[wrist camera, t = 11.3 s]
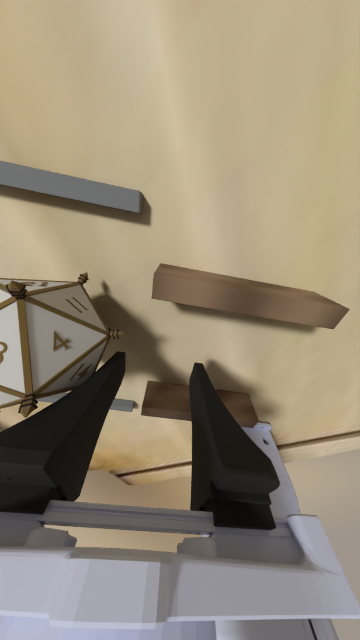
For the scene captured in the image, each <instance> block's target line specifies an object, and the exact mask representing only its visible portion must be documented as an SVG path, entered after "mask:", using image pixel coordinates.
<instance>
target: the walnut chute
mask: <svg viewBox="0 0 360 640" xmlns="http://www.w3.org/2000/svg"><path fill="white" fill-rule="evenodd" d="M152 299H158V300H163V301H169V302H175V303H181V304H187V305H193V306H199V307H205V308H211V309H216V310H222V311H228V312H234V313H240V314H246V315H252V316H258V317H264V318H270V319H275V320H281V321H287V322H293V323H299V324H305V325H311V326H317V327H323V328H329V329H334V328H335V327H336V326H337V324H338V323H339V322H340V321H341V319H342V318H343V317H344V316H345V314H346V313H347V312H348V311H349V310H350V309H348V308H346V307H344V306H342V305H340V304H338V303H336V302H334V301H332V300H330V299H328V298H325V297H323V296H321V295H319V294H317V293H315V292H311V291H306V290H300V289H295V288H290V287H284V286H279V285H274V284H268V283H263V282H258V281H252V280H247V279H241V278H236V277H231V276H225V275H220V274H215V273H209V272H204V271H199V270H193V269H188V268H182V267H177V266H172V265H166V264H160V265H159V267H158V268H157V270H156V271H155V273H154V279H153V290H152ZM216 392H217V394H218V395H219V397H220V399H221V400H222V402H223V403H224V405H225V406H226V408H227V409H228V411H229V412H230V414H231V415H232V416H233V418H234V419H235V420H236V422H237V423H238V424H239V425H240V426H241V427H247V428H254V426H255V425H256V424H257V423H258V421H259V420H258V417H257V415H256V412H255V410H254V407H253V405H252V402H251V399H250V397H249V394H243V393H236V392H228V391H221V390H216ZM141 415H144V416H152V417H161V418H169V419H178V420H187V421H192V418H191V407H190V395H189V386H183V385H175V384H168V383H160V382H152V381H148V383H147V388H146V392H145V396H144V400H143V405H142V412H141Z"/></svg>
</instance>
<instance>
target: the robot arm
mask: <svg viewBox="0 0 360 640" xmlns="http://www.w3.org/2000/svg"><path fill="white" fill-rule="evenodd" d="M124 374H125V352H118V351H117V352H116V353H115V354H114V355H113V356H112V357H111V358H110V359H109V360H108V361H107V362H106V363H105V364H104V365H103V366H102V367H100V368H99V369H98V370H97V371H96V372H95V373H94V374H93V375H91V376H90V377H89V378H88V379H87V380H85V381H84V382H83V383H82V384H80V385H79V386H78V387H76V388H75V389H73V390H72V391H71V392H69V393H68V394H66V395H65V396H63V397H62V398H60V399H59V400H57V401H56V402H54V403H53V404H51V405H49V406H48V407H46V408H44V409H43V410H41V411H39V412H37V413H36V414H34V415H32V416H30V417H29V418H27V419H25V420H23V421H21V422H19V423H17V424H15V425H13V426H12V427H10V428H8V429H6V430H4V431H2V432H0V640H339V639H338V636H337V634H336V631H335V629H334V626H333V623H332V620H331V618H343V619H344V618H345V619H346V618H347V619H360V605H359V603H358V601H357V599H356V596H355V594H354V592H353V590H352V588H351V586H350V584H349V581H348V579H347V577H346V575H345V573H344V571H343V569H342V566H341V564H340V562H339V560H338V558H337V556H336V554H335V551H334V549H333V547H332V545H331V543H330V541H329V539H328V537H327V534H326V532H325V530H324V528H323V526H322V524H321V522H320V520H319V518H318V516H316V515H305V514H300V511H299V504H298V500H297V496H296V493H295V490H294V487H293V485H292V482H291V480H290V478H289V475H288V473H287V471H286V468H285V466H284V463H283V461H282V459H281V456H280V454H279V452H278V449H277V447H276V445H275V442H274V440H273V438H272V435H271V433H270V430H271V429H272V426H271V424H268V423H260V422H258V423H257V424H256V425H255V426H254V428H247V427H241V426H240V425H239V424H238V423H237V422H236V420H235V419H234V418H233V416H232V415H231V414H230V412H229V411H228V409H227V408H226V406H225V405H224V403H223V402H222V400H221V399H220V397H219V395H218V394H217V392H216V390H215V388H214V386H213V384H212V383H211V381H210V379H209V377H208V374H207V372H206V370H205V368H204V366H203V364H202V363H195V364H194V367H193V370H192V373H191V376H190V382H189V395H190V407H191V418H192V481H191V507H190V509H191V511H190V510H176V509H163V508H150V507H137V506H123V505H110V504H97V503H83V502H74V501H75V500H76V499H77V498H78V497H79V496H80V493H81V489H82V486H83V483H84V480H85V477H86V474H87V471H88V467H89V464H90V461H91V458H92V455H93V452H94V449H95V446H96V444H97V441H98V438H99V435H100V432H101V429H102V427H103V424H104V421H105V418H106V416H107V413H108V411H109V409H110V407H111V405H112V403H113V400H114V398H115V396H116V394H117V392H118V390H119V387H120V385H121V383H122V380H123V377H124ZM44 525H57V526H73V527H89V528H104V529H120V530H136V531H150V532H166V533H181V534H197V535H202V537H193V538H184V540H183V542H182V543H179V544H178V545H177V553H173V552H162V551H151V550H137V549H122V548H99V547H75V544H76V542H77V538H75V537H73V536H70V535H69V534H68V531H64V530H58V529H52V528H45V527H44Z"/></svg>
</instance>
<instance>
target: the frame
mask: <svg viewBox="0 0 360 640" xmlns="http://www.w3.org/2000/svg"><path fill="white" fill-rule="evenodd" d="M0 185H5V186H10V187H15V188H19V189H24V190H29V191H34V192H39V193H44V194H48V195H53V196H58V197H63V198H68V199H73V200H77V201H82V202H87V203H92V204H97V205H101V206H106V207H111V208H116V209H121V210H126V211H130V212H135V213H140V214H142V200H143V194H142V193H141V192H140V191H137V190H132V189H128V188H123V187H118V186H114V185H109V184H105V183H100V182H95V181H91V180H86V179H82V178H77V177H72V176H68V175H63V174H59V173H54V172H49V171H45V170H40V169H36V168H31V167H26V166H22V165H17V164H13V163H8V162H3V161H0ZM66 394H68V393H60V394H56V395H52V396H48V397H44V398H40V399H36V400H37V401H42V402H51V403H54V402H56V401H57V400H59V399H60V398H62V397H63V396H65V395H66ZM133 406H134V401H128V400H120V399H114V400H113V403H112V405H111V407H110V409H111V410H119V411H128V412H132V410H133Z"/></svg>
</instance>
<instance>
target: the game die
mask: <svg viewBox="0 0 360 640" xmlns="http://www.w3.org/2000/svg"><path fill="white" fill-rule="evenodd" d="M78 279H79V280H78V282H67V281H47V280H27V279H8V278H0V409H1V408H5V407H9V406H13V405H17V404H21V406H20V408H19V412H18V413H21V414H22V415H23V416H24V417H25V418H26V417H27V416H28V415H29V414H30V413H31V412H32V411H33V410H35V409H36V408H38V406H36V404H37V403H38V401H37V400H36V399H40V398H44V397H48V396H52V395H56V394H60V393H64V392H67V391H71V390H73V389H75V388H76V387H78V386H79V385H80V384H82V383H83V382H84V381H85V380H87V379H88V378H89V377H90V376H91V375H93V374H94V373H95V371H96V369H97V367H98V364H99V362H100V360H101V358H102V355H103V353H104V351H105V348H106V346H107V344H108V342H109V339H110V338H113V339H115V338H117V339H119V338H120V337H121V336H123V335H124V333H122V332H120V331H119V330H117V331H115V330H113V331H112V332H110V330H111V329H109V328H108V327H107V326H106V324H105V322H104V321H103V319H102V317H101V316H100V314H99V312H98V310H97V309H96V307H95V305H94V304H93V302H92V300H91V299H90V297H89V295H88V293H87V292H86V290H85V288H84V287H83V284H84V283H86V281H87V280H89V279H88V275H87V273H84V274H82V275H81V274H80V277H78ZM0 412H1V411H0Z"/></svg>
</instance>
